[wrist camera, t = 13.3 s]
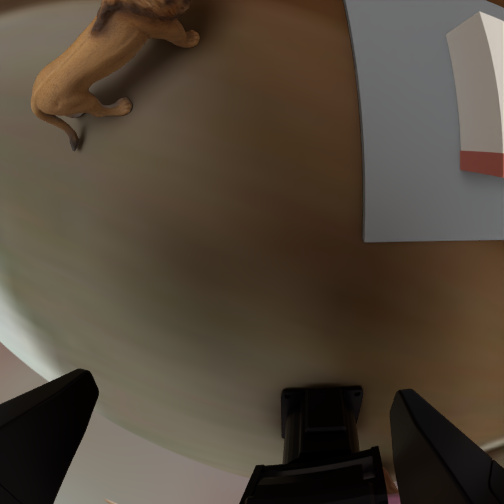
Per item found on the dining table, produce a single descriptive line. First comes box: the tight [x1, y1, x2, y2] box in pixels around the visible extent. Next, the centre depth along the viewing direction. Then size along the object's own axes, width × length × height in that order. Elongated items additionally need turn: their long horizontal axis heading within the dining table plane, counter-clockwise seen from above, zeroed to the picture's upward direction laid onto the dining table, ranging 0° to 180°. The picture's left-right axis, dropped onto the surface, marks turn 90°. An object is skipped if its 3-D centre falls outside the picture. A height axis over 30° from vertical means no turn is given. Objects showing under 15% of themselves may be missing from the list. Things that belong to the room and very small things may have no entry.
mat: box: [343, 0, 504, 242], centre depth 13 cm, size 18×18×1 cm
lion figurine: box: [31, 0, 200, 151], centre depth 11 cm, size 15×5×9 cm, turn 137°
